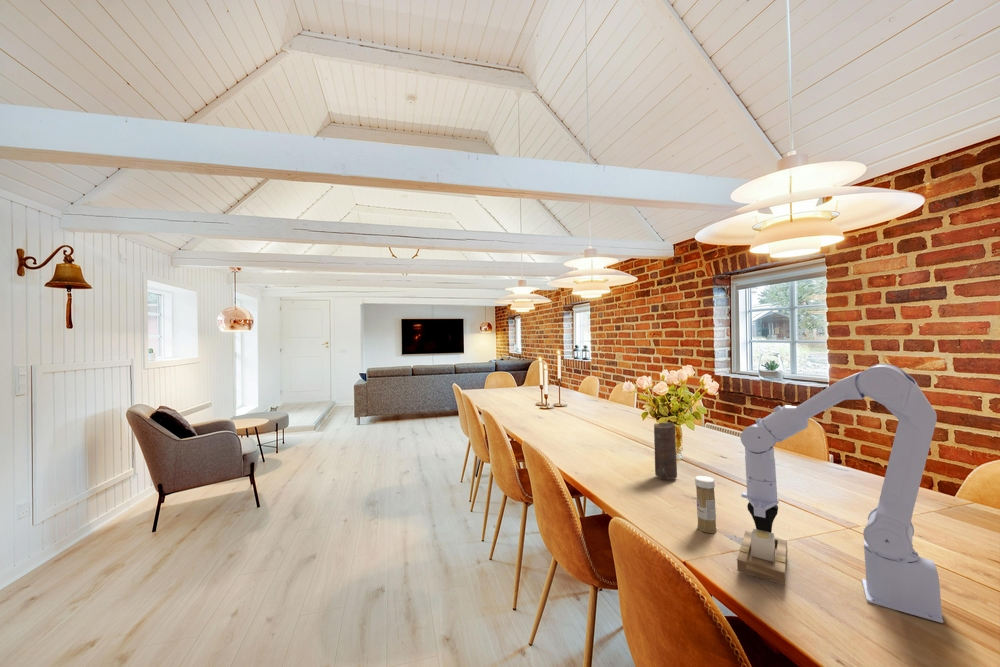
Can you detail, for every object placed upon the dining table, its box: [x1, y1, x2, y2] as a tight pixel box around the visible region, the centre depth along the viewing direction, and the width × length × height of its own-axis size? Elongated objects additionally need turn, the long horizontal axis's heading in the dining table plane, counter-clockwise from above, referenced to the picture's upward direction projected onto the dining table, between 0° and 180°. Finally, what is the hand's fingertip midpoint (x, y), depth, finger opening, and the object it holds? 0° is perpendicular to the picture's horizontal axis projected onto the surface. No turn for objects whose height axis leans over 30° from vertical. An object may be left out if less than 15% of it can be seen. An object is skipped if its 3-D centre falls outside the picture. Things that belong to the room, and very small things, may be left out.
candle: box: [653, 421, 678, 480], centre depth 137 cm, size 8×7×20 cm
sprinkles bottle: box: [694, 475, 718, 534], centre depth 99 cm, size 5×5×14 cm
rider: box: [751, 528, 775, 562], centre depth 83 cm, size 5×4×4 cm
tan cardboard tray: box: [736, 530, 788, 585], centre depth 83 cm, size 15×8×4 cm, turn 141°
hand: (764, 537), depth 86 cm, fingers closed
